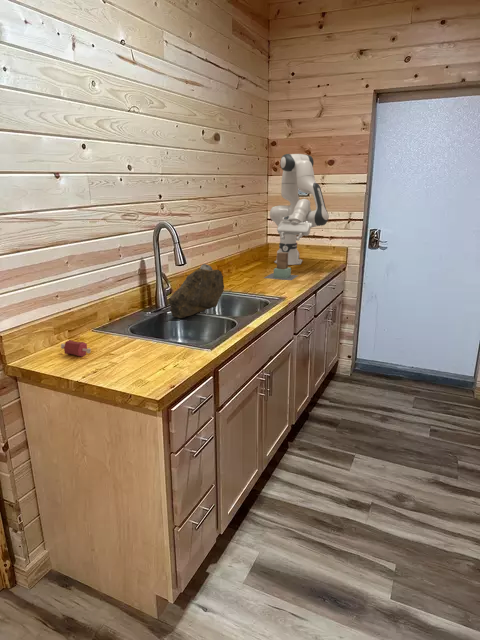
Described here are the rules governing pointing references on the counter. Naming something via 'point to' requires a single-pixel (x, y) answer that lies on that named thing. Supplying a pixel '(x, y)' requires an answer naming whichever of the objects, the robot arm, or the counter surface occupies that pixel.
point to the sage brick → (282, 273)
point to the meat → (75, 348)
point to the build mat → (281, 278)
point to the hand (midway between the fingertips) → (289, 239)
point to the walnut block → (282, 260)
